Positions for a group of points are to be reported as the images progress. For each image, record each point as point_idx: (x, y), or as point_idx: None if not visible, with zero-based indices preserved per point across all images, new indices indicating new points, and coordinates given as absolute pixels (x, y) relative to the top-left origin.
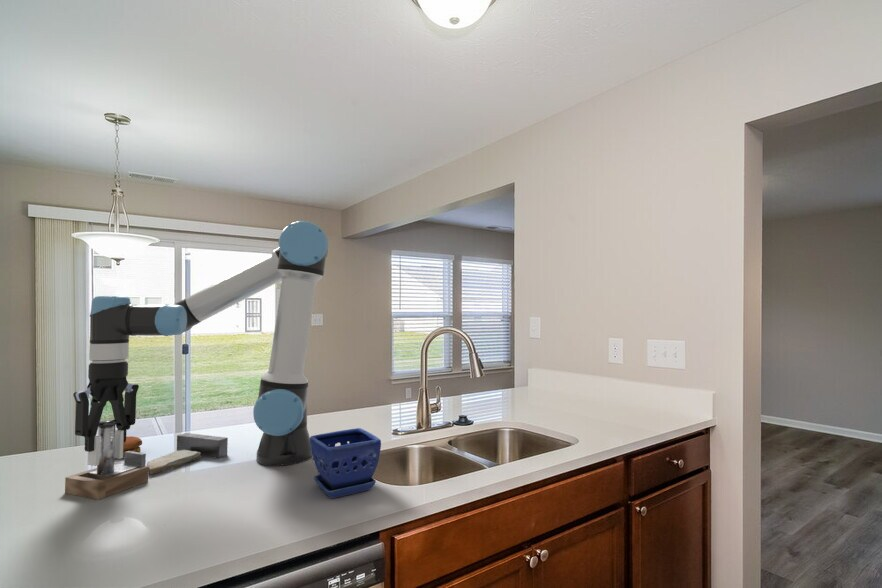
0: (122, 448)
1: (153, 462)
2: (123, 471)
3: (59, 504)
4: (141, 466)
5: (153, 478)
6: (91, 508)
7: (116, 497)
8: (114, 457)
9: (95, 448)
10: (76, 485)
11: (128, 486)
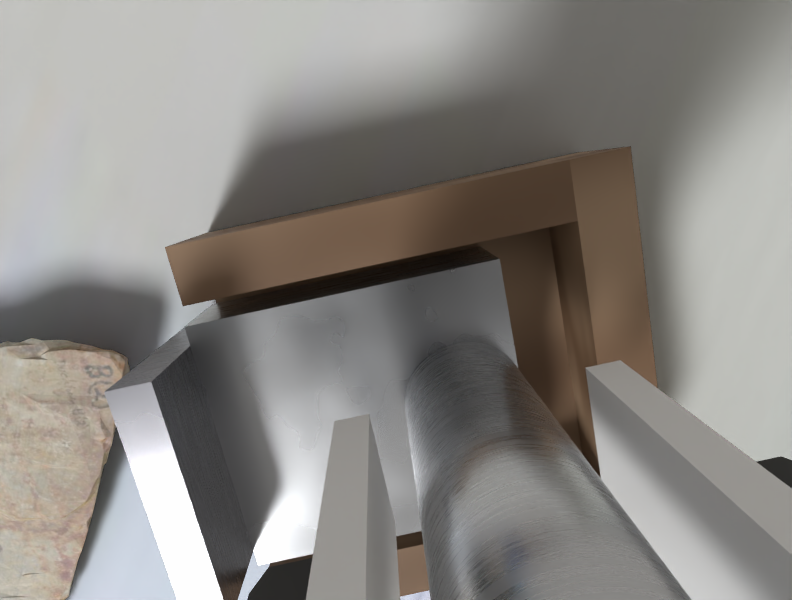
0: (333, 478)
1: (28, 558)
2: (370, 288)
3: (731, 290)
4: (201, 322)
5: (154, 264)
6: (678, 13)
7: (491, 83)
8: (386, 491)
9: (742, 458)
10: None
11: (362, 199)
